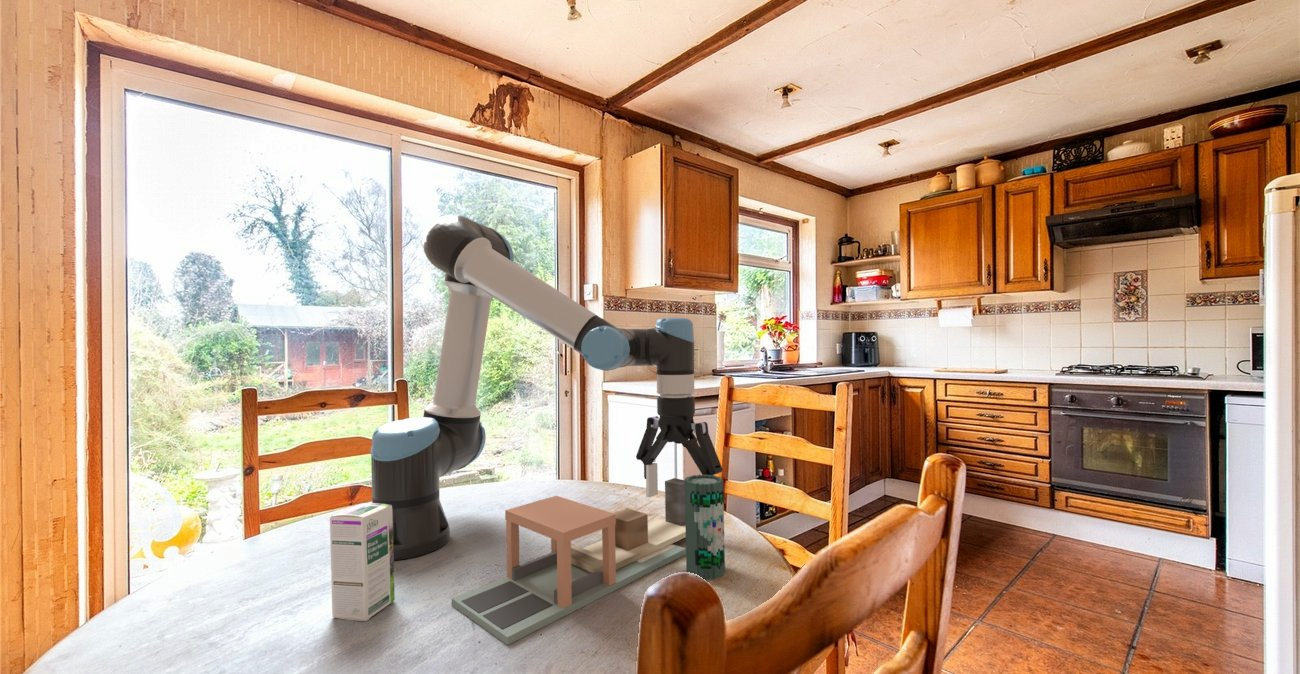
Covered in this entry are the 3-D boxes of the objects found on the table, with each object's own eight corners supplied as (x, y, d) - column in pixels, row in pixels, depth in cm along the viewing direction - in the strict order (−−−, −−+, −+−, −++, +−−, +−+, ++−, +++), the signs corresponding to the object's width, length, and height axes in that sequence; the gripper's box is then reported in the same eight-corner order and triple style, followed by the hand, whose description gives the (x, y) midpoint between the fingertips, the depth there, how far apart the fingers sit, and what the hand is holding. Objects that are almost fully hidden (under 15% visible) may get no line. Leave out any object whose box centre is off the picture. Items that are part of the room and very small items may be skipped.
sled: (565, 560, 85) (564, 507, 85) (666, 519, 104) (665, 476, 104) (601, 576, 79) (600, 519, 79) (700, 529, 98) (700, 483, 98)
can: (706, 582, 79) (704, 486, 79) (679, 570, 83) (677, 479, 84) (731, 570, 83) (729, 479, 83) (704, 559, 87) (702, 472, 88)
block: (608, 543, 90) (607, 515, 90) (628, 535, 93) (627, 508, 93) (628, 551, 86) (627, 521, 86) (648, 542, 90) (647, 514, 90)
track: (451, 605, 73) (450, 525, 74) (626, 533, 100) (625, 475, 100) (507, 645, 63) (506, 553, 63) (686, 554, 90) (684, 489, 90)
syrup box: (366, 622, 69) (365, 516, 69) (329, 618, 70) (329, 514, 71) (395, 601, 75) (394, 503, 75) (361, 598, 76) (360, 501, 76)
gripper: (739, 397, 95) (741, 510, 94) (643, 390, 112) (644, 486, 111) (716, 401, 89) (718, 521, 89) (618, 393, 106) (620, 494, 106)
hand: (677, 502), depth 100 cm, fingers open, 13 cm apart
